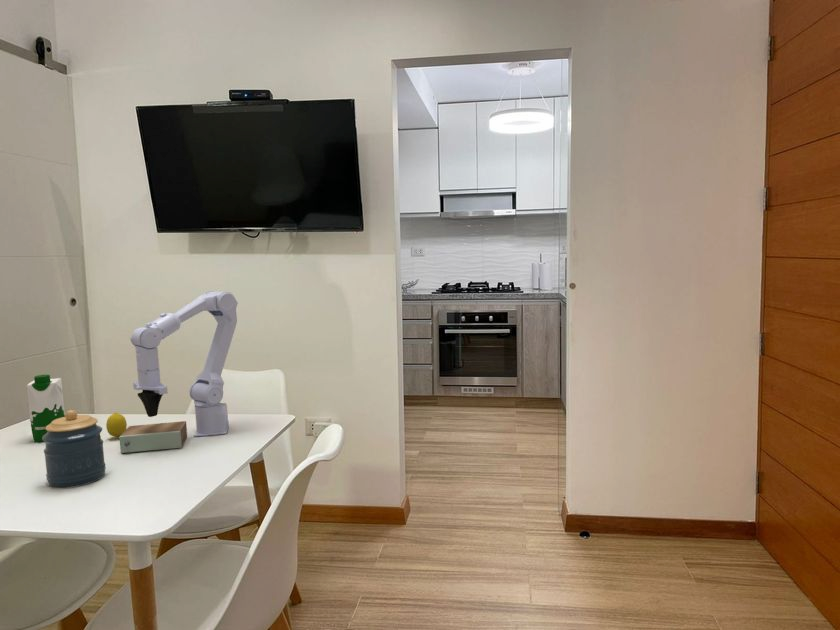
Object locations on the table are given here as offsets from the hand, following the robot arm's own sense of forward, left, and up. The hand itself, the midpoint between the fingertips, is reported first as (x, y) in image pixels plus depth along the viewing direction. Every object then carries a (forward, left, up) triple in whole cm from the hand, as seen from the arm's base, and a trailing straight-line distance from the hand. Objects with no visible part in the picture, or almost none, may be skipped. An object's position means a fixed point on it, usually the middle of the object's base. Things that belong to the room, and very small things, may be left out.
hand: (152, 415), depth 173 cm
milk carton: (+34, -20, -10) cm, 41 cm away
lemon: (+13, -13, -10) cm, 21 cm away
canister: (+14, +21, -10) cm, 27 cm away
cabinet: (0, -2, -9) cm, 10 cm away
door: (0, +4, -9) cm, 10 cm away
